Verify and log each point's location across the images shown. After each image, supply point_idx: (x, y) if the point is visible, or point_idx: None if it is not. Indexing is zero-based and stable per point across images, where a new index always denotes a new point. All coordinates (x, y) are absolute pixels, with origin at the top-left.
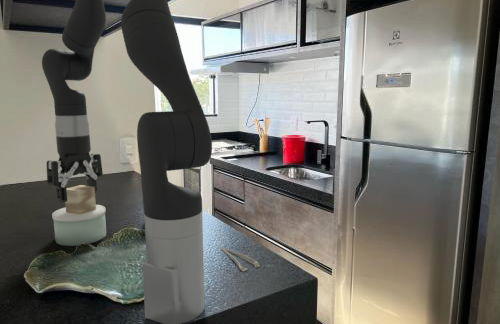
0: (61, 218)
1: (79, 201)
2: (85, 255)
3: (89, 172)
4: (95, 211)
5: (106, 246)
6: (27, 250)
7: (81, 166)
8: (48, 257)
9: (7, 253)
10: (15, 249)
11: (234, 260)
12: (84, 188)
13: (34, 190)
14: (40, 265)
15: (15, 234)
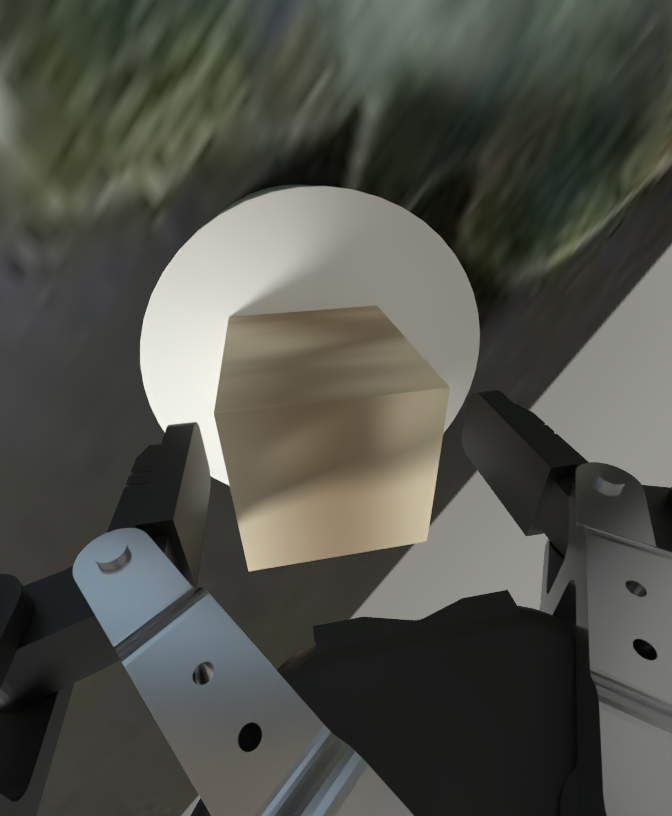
0: (477, 335)
1: (401, 341)
2: (476, 46)
3: (229, 622)
4: (266, 271)
5: (331, 35)
6: (497, 365)
7: (406, 778)
8: (535, 221)
9: (533, 395)
10: None
11: None
12: (326, 437)
13: (118, 798)
14: (610, 169)
15: None
